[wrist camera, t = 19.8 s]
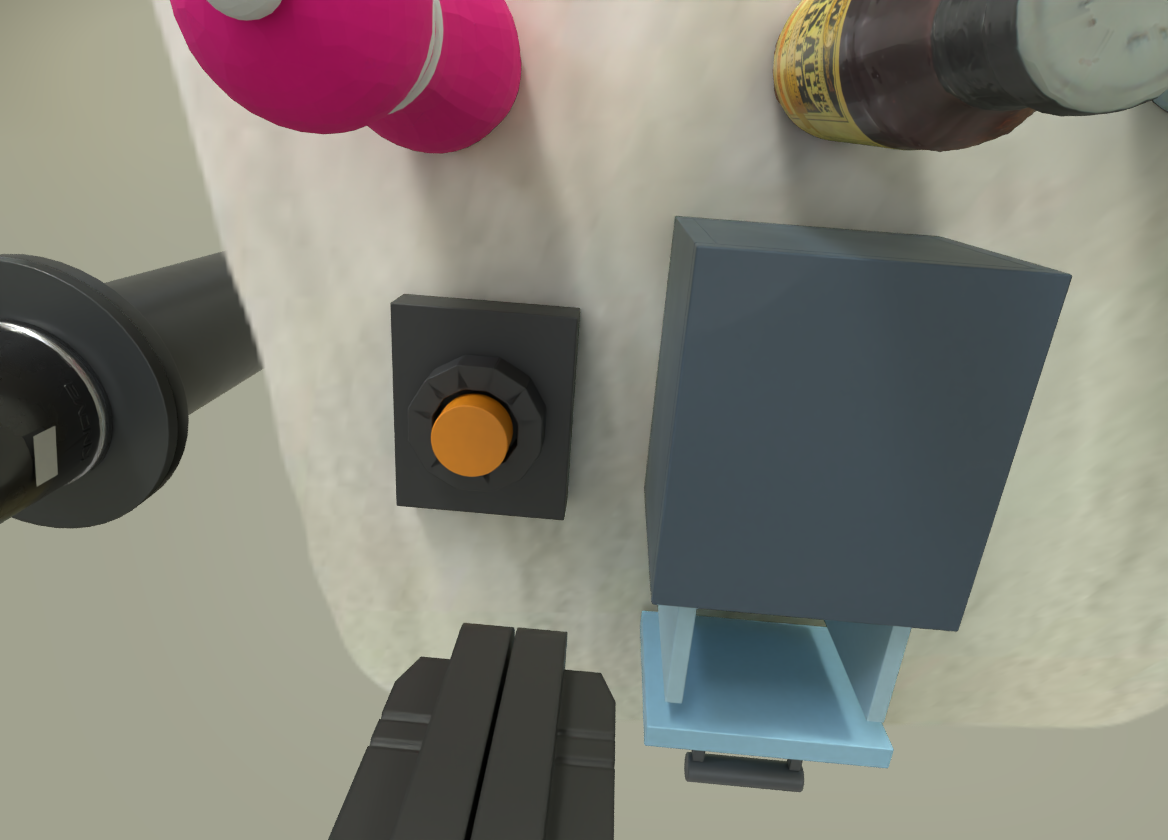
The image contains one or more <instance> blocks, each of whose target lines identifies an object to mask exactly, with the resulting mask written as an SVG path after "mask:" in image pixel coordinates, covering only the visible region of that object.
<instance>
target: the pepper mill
mask: <svg viewBox="0 0 1168 840" xmlns="http://www.w3.org/2000/svg"><path fill="white" fill-rule="evenodd" d="M170 2H171V5H172V9H173V13H174V16H175V19H176V21H177V23H178V25H179V27H180V30H181V32H182V34H183V36H184V39H185V41H186V43H187V45H188V47H189V50H190V51H191V53H192V54H193V56H194V57H195V59H196V60H197V61H198V63H199V64H200V66H201V67H202V69H203V70H204V71H205V72H206V73H207V74H208V75H209V77H210V78H211V79H212V80H213V81H214V82H215V83H216V84H217V85H218V86H219V87H220V88H221V89H222V90H223V91H224V92H225V93H226V94H227V95H228V96H229V97H230V98H231V99H233V100H234V101H235V102H237V103H238V104H240V105H241V106H242V107H244V108H245V109H247V110H248V111H250V112H251V113H253V114H255V115H257V116H259V117H261V118H264V119H266V120H268V121H270V122H272V123H274V124H276V125H278V126H282V127H285V128H289V129H293V130H296V131H300V132H307V133H317V134H333V133H343V132H349V131H354V130H357V129H359V128H362V127H364V126H368V127H369V128H371V129H372V130H373V131H375V132H376V133H377V134H378V135H380V136H381V137H383V138H385V139H387V140H389V141H391V142H392V143H394V144H396V145H399V146H402V147H405V148H408V149H411V150H414V151H419V152H424V153H448V152H454V151H458V150H461V149H464V148H466V147H469V146H471V145H472V144H474V143H476V142H478V141H480V140H481V139H482V138H484V137H485V136H486V135H488V134H489V133H490V132H491V131H492V130H493V129H494V128H495V127H496V126H497V125H498V124H499V123H500V122H501V121H502V120H503V119H504V118H505V117H506V115H507V114H508V112H509V111H510V109H511V107H512V105H513V103H514V101H515V99H516V96H517V93H518V89H519V84H520V77H521V59H520V48H519V41H518V35H517V31H516V27H515V24H514V21H513V17H512V15H511V13H510V11H509V9H508V6H507V4H506V2H505V1H504V0H170Z"/></svg>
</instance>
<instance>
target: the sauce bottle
mask: <svg viewBox="0 0 1168 840" xmlns="http://www.w3.org/2000/svg"><path fill="white" fill-rule="evenodd" d="M773 77H774V90H775V95H776V98H777V100H778V102H779V103H780V104H781V105H782V107H783V109H784V111H785V112H786V114H787V115H788V117H789V118H790V119H791V120H792V121H793V122H794V123H795V124H796V125H797V126H798V127H799V128H801V129H802V130H804V131H805V132H807V133H809V134H811V135H813V136H815V137H818V138H821V139H825V140H830V141H838V142H846V143H854V144H863V145H870V146H877V147H884V148H890V149H898V150H931V151H938V152H942V151H950V150H959V149H964V148H968V147H971V146H975V145H979V144H981V143H984V142H986V141H990V140H993V139H996V138H998V137H1000V136H1002V135H1005V134H1008V133H1010V132H1011V131H1012V130H1013V129H1014V128H1016V127H1017V126H1018V125H1020V124H1021V123H1022V122H1023V121H1024V120H1025V119H1026V118H1027V117H1029V116H1030V115H1032V114H1033V113H1034V112H1035V111H1039V112H1041V113H1046V114H1052V115H1056V116H1089V115H1096V114H1107V113H1113V112H1119V111H1123V110H1126V109H1130V108H1133V107H1135V106H1138V105H1141V104H1143V103H1146V102H1148V101H1151V100H1154V99H1156V98H1158V97H1159V96H1160V95H1161V94H1163V93H1164V92H1165V91H1166V90H1167V89H1168V0H802V1H801V3H800V4H799V5H798V6H797V7H796V8H795V10H794V11H793V13H792V14H791V16H790V17H789V19H788V21H787V22H786V24H785V26H784V28H783V30H782V33H781V34H780V36H779V38H778V41H777V43H776V50H775V52H774V67H773Z"/></svg>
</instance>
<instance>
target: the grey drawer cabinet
mask: <svg viewBox="0 0 1168 840" xmlns="http://www.w3.org/2000/svg"><path fill="white" fill-rule="evenodd" d="M1071 278H1072V275H1070V274H1067V273H1064V272H1060V271H1058V270H1054V269H1051V268H1047V267H1044V266H1040V265H1037V264H1033V263H1030V262H1027V261H1023V260H1020V259H1016V258H1013V257H1009V256H1006V255H1002V254H999V253H995V252H992V251H988V250H985V249H982V248H978V247H975V246H971V245H968V244H964V243H961V242H957V241H954V240H950V239H946V238H943V237H939V236H926V235H913V234H901V233H888V232H875V231H862V230H849V229H836V228H823V227H811V226H798V225H785V224H772V223H759V222H746V221H733V220H721V219H708V218H695V217H682V216H676V217H675V222H674V230H673V239H672V248H671V257H670V266H669V274H668V283H667V292H666V301H665V310H664V318H663V327H662V336H661V345H660V354H659V362H658V371H657V380H656V389H655V398H654V407H653V415H652V424H651V433H650V442H649V451H648V459H647V468H646V477H645V486H644V493H645V510H646V526H647V542H648V558H649V575H650V591H651V602H652V604H655V605H666V606H677V607H689V608H700V609H711V610H722V611H733V612H744V613H755V614H766V615H777V616H788V617H800V618H811V619H822V620H833V621H844V622H855V623H866V624H877V625H888V626H900V627H911V628H922V629H933V630H944V631H955V632H957V631H958V629H959V626H960V623H961V620H962V617H963V614H964V611H965V608H966V605H967V602H968V598H969V595H970V592H971V589H972V586H973V583H974V580H975V577H976V574H977V570H978V567H979V564H980V561H981V558H982V555H983V552H984V549H985V546H986V542H987V539H988V536H989V533H990V530H991V527H992V524H993V521H994V518H995V515H996V511H997V508H998V505H999V502H1000V499H1001V496H1002V493H1003V490H1004V487H1005V483H1006V480H1007V477H1008V474H1009V471H1010V468H1011V465H1012V462H1013V459H1014V456H1015V452H1016V449H1017V446H1018V443H1019V440H1020V437H1021V434H1022V431H1023V428H1024V424H1025V421H1026V418H1027V415H1028V412H1029V409H1030V406H1031V403H1032V400H1033V396H1034V393H1035V390H1036V387H1037V384H1038V381H1039V378H1040V375H1041V372H1042V369H1043V365H1044V362H1045V359H1046V356H1047V353H1048V350H1049V347H1050V344H1051V341H1052V337H1053V334H1054V331H1055V328H1056V325H1057V322H1058V319H1059V316H1060V313H1061V310H1062V306H1063V303H1064V300H1065V297H1066V294H1067V291H1068V288H1069V285H1070V282H1071Z"/></svg>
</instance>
